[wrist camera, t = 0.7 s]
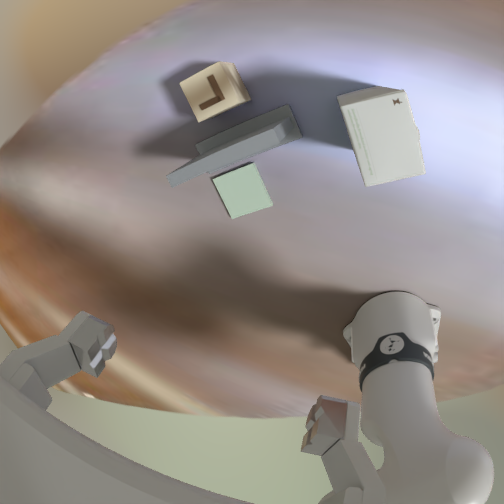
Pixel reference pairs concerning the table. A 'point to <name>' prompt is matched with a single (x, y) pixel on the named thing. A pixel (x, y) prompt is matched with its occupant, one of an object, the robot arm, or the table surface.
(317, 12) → the table surface
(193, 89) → the letter cube
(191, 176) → the screen
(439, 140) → the table surface
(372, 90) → the skincare box
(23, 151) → the table surface
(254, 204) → the coaster
